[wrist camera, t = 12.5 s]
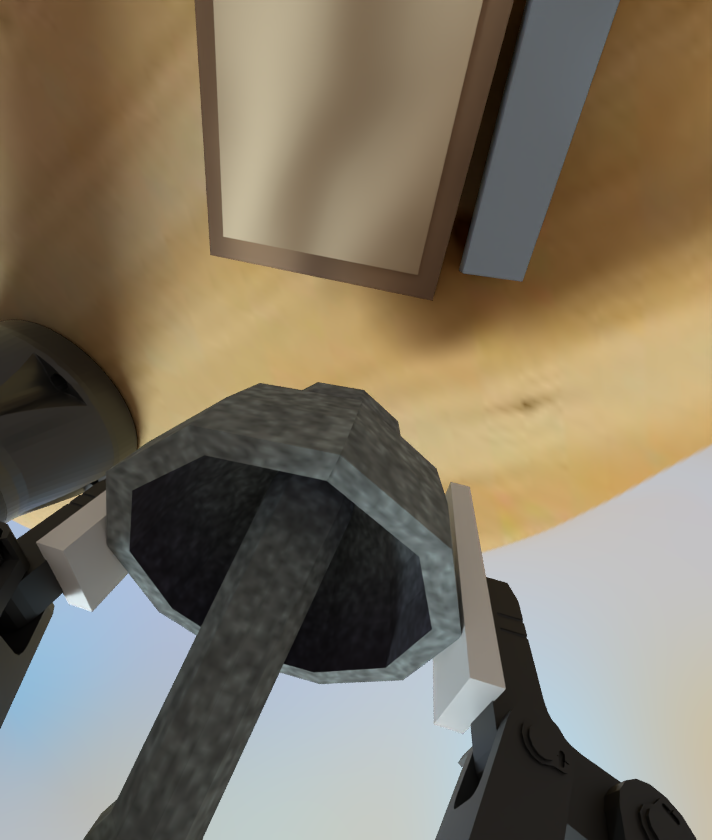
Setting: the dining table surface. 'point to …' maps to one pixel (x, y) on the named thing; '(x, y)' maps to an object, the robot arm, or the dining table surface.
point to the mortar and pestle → (273, 575)
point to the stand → (343, 131)
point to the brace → (534, 130)
